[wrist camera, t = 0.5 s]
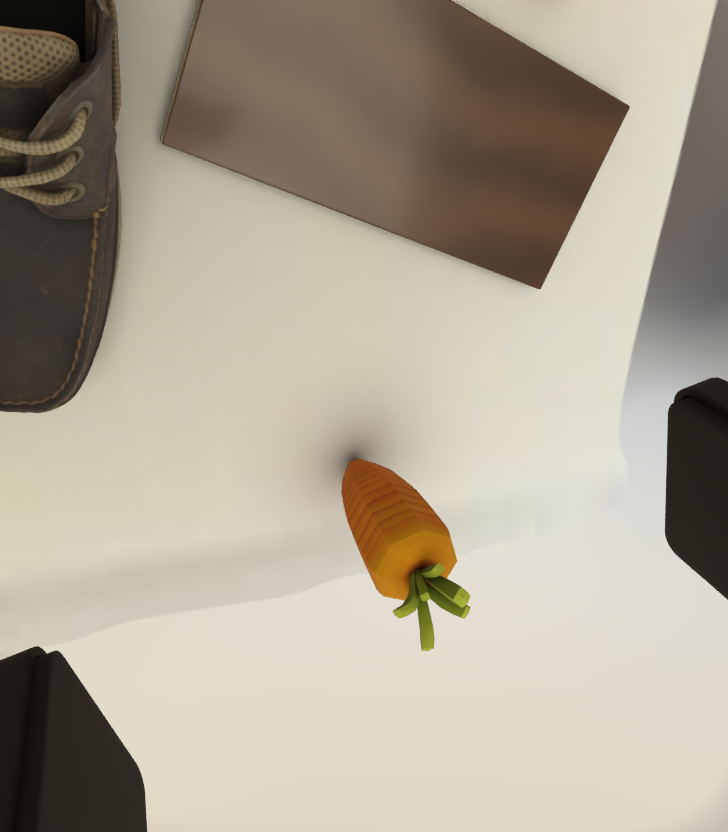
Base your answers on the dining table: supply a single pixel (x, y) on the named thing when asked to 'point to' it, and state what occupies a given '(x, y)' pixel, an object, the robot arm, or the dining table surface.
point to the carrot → (402, 544)
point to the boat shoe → (56, 195)
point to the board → (398, 121)
